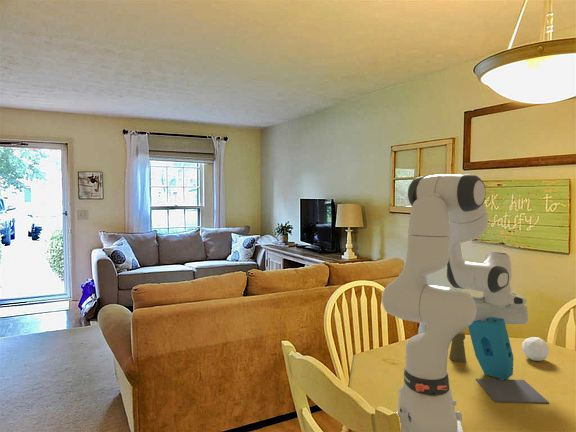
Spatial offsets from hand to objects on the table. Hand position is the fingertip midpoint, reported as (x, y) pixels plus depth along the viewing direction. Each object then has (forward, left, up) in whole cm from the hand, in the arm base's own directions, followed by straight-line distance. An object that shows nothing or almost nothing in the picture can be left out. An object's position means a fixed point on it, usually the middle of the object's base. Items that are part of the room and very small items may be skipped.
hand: (495, 335), depth 143 cm
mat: (-13, +1, -14) cm, 19 cm away
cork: (+13, +9, -14) cm, 21 cm away
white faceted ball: (+15, -21, -14) cm, 29 cm away
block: (-2, 0, -13) cm, 13 cm away
